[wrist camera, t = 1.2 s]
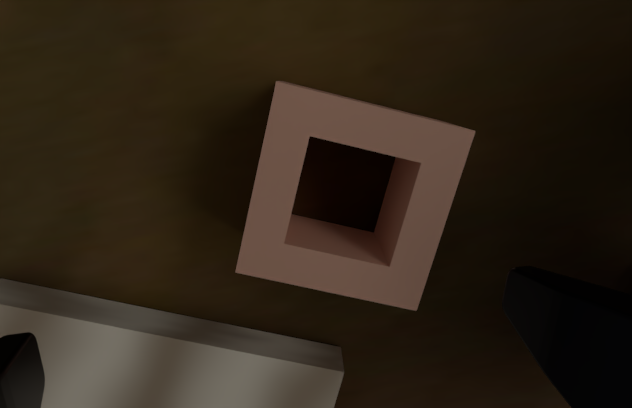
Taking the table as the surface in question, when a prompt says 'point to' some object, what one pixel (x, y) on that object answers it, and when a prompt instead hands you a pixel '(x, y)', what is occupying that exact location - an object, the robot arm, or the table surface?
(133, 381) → the post stand
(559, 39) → the table surface
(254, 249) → the collar
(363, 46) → the table surface
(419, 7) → the table surface
